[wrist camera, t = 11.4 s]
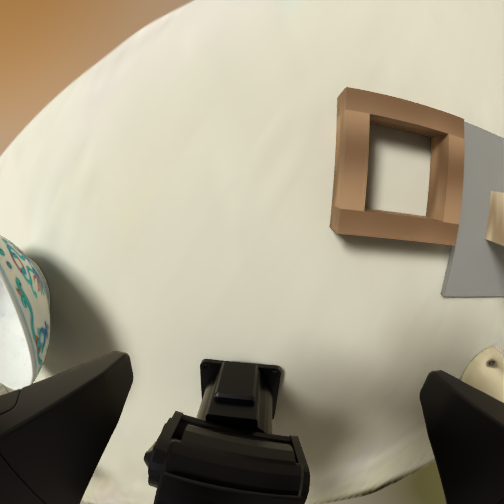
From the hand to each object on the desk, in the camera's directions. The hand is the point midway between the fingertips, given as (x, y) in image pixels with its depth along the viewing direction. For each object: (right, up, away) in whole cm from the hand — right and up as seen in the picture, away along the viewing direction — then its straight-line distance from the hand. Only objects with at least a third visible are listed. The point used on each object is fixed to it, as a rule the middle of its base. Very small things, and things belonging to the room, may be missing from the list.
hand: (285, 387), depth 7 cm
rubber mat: (+20, +7, +10) cm, 24 cm away
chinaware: (-23, 0, +15) cm, 28 cm away
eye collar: (+9, +9, +10) cm, 17 cm away
